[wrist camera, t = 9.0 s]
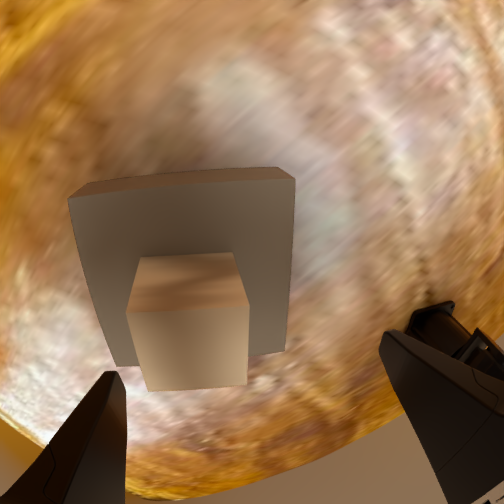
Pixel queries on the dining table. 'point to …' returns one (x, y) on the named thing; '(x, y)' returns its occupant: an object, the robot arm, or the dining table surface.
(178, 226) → the gray block
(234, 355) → the cream cube
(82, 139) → the dining table surface
